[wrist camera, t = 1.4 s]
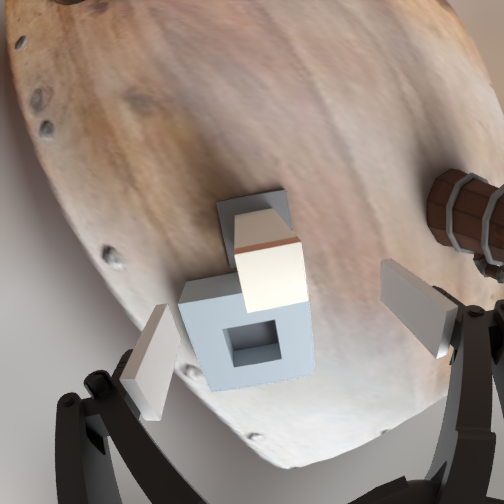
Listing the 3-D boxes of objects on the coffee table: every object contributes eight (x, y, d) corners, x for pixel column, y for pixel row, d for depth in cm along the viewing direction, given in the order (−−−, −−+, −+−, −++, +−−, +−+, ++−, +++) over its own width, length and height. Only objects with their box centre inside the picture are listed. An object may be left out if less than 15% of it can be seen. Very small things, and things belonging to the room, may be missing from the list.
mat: (216, 201, 31) (215, 203, 30) (284, 188, 31) (285, 189, 30) (230, 265, 34) (230, 268, 33) (294, 253, 34) (296, 255, 33)
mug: (416, 189, 32) (496, 211, 18) (464, 159, 31) (537, 170, 17) (438, 278, 37) (498, 322, 23) (481, 243, 36) (541, 273, 21)
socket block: (186, 281, 34) (177, 304, 29) (295, 260, 34) (306, 280, 29) (213, 364, 39) (211, 392, 33) (305, 347, 39) (315, 373, 33)
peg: (234, 215, 31) (233, 254, 18) (273, 207, 31) (301, 241, 18) (242, 251, 32) (247, 313, 19) (279, 244, 32) (308, 301, 19)
